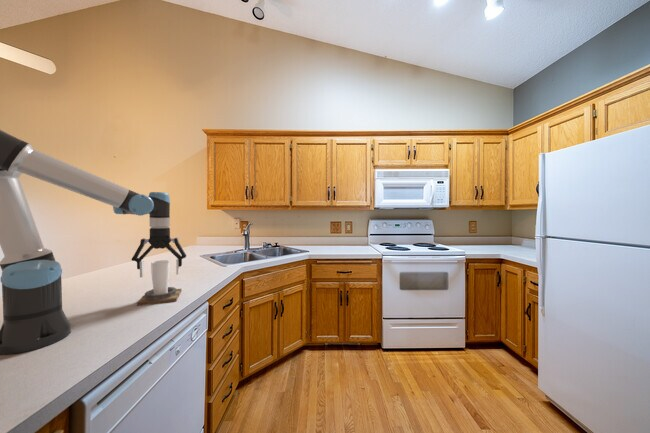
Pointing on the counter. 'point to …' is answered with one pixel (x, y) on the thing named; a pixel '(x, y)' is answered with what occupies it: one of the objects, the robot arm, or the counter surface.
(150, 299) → the ring holder
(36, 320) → the robot arm
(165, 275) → the drinking glass
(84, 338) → the counter surface
